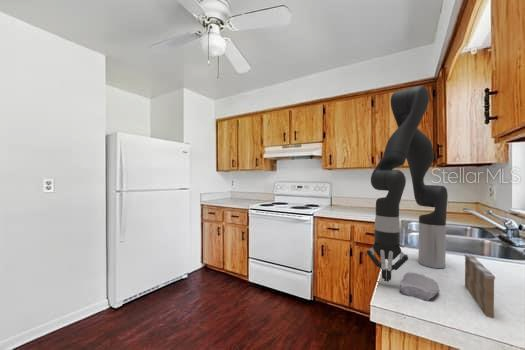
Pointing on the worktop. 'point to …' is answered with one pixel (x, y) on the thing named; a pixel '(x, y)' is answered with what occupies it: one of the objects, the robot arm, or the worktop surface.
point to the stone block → (418, 286)
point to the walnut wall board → (480, 284)
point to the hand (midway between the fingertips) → (386, 280)
